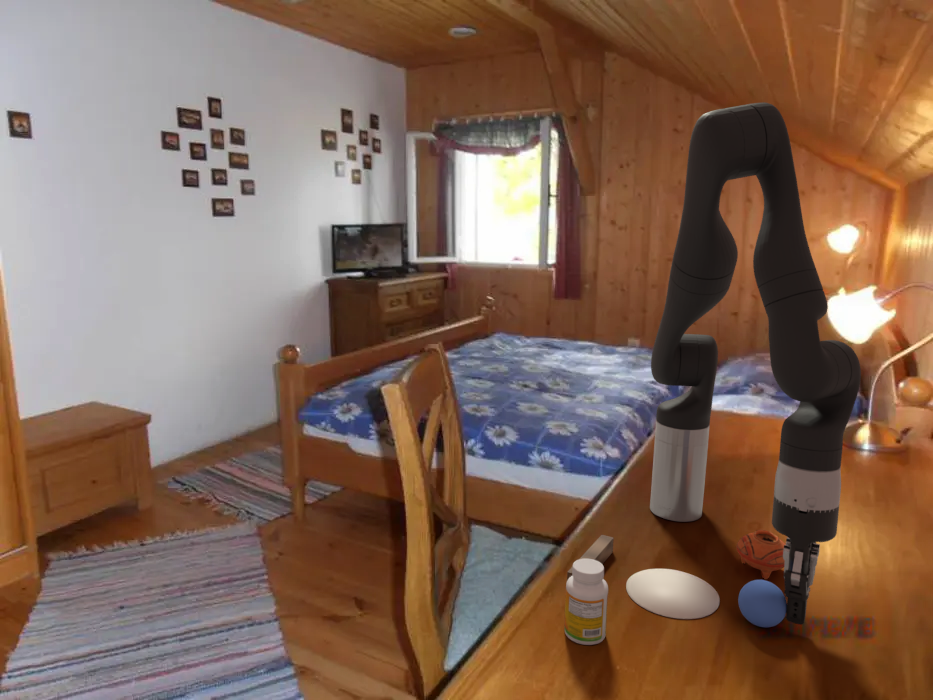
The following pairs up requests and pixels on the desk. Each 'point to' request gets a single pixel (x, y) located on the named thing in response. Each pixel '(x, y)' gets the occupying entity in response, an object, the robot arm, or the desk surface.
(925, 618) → the desk surface
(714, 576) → the desk surface
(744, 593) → the ball
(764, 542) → the pot
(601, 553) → the wall
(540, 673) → the desk surface
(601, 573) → the supplement bottle
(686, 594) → the white round plate
